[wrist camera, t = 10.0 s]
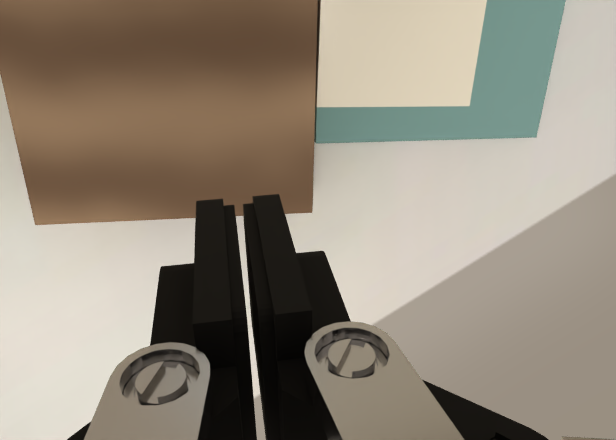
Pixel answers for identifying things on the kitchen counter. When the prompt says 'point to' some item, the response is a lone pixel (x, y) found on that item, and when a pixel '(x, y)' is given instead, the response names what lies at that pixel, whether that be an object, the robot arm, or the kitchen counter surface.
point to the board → (160, 104)
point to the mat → (486, 87)
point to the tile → (397, 52)
